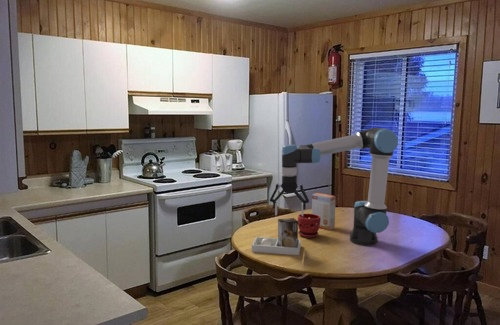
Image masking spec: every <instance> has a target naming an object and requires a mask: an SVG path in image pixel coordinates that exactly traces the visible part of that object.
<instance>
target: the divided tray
mask: <svg viewBox="0 0 500 325" xmlns="http://www.w3.org/2000/svg"><path fill="white" fill-rule="evenodd" d="M264 238H267V239H269V240H270V242H271V244H270V246H265V245H261V241H262V239H264ZM301 244H302V240H301V239H298V248H293V247H279V246H278V237H266V236H265V237H264V236H255V239H254V240H253V242H252V244H251V252H253V253H265V254H279V255H289V256H290V255H294V256H300V252H301V247H302V245H301Z"/></svg>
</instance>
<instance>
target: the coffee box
mask: <svg viewBox="0 0 500 325" xmlns="http://www.w3.org/2000/svg"><path fill="white" fill-rule="evenodd" d="M298 230H299V227H298V219H296V218H294V217H291V218H278V219H277V238H278V246H279V247H293V248H298V240H299V236H298V235H299V231H298Z"/></svg>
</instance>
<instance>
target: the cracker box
mask: <svg viewBox="0 0 500 325" xmlns="http://www.w3.org/2000/svg"><path fill="white" fill-rule="evenodd" d="M311 195H312V196H311V198H312V199H311V214H315V215H319V216H320V217H321V219H320V227H319V229H323V230H327V231H331V230H334V229H335V224H336V222H335V221H336V220H335V219H336V196H335V195H331V194H327V193H326V194H325V193H320V192H315V193H312V194H311ZM316 225H317V223H316Z"/></svg>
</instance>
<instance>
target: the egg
mask: <svg viewBox="0 0 500 325" xmlns="http://www.w3.org/2000/svg"><path fill="white" fill-rule="evenodd" d="M267 238H268V237H266V238H264V239H262V241H261V245H265V246H270V244H271V242H270V240H269V239H267Z"/></svg>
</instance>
